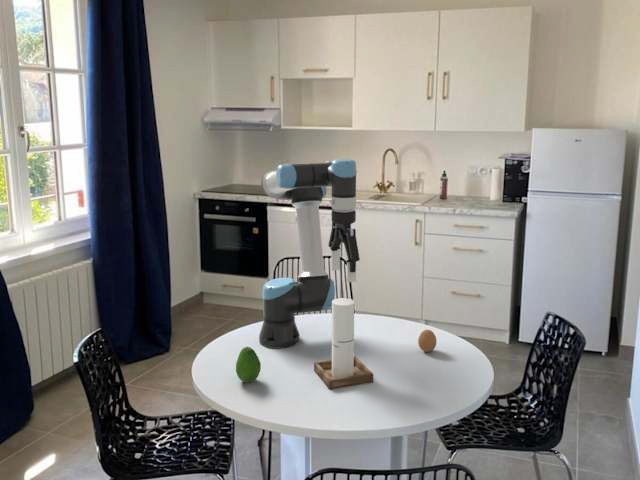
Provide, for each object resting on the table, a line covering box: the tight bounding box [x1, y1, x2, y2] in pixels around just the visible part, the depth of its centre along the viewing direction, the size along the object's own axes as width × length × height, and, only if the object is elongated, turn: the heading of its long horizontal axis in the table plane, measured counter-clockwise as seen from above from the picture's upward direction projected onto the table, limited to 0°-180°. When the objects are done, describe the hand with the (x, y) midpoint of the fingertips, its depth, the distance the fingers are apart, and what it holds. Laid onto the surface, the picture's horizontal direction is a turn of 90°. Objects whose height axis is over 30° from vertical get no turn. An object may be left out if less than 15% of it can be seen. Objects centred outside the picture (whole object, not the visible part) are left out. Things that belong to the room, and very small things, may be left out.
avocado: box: [235, 346, 261, 384], centre depth 208 cm, size 8×8×12 cm
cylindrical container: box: [331, 297, 355, 378], centre depth 210 cm, size 7×7×25 cm
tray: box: [313, 355, 374, 391], centre depth 213 cm, size 15×15×3 cm
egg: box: [417, 329, 437, 353], centre depth 232 cm, size 6×6×8 cm
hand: (343, 275), depth 205 cm, fingers open, 13 cm apart
